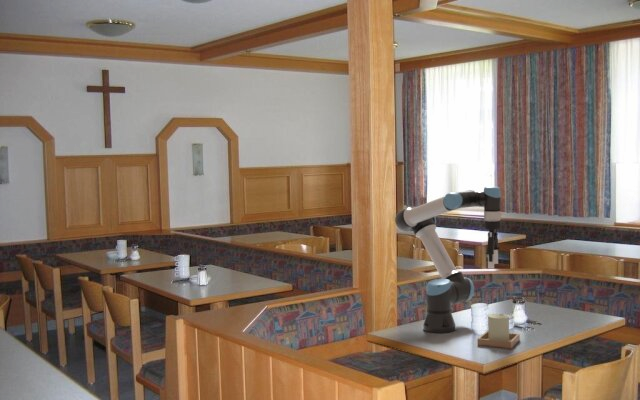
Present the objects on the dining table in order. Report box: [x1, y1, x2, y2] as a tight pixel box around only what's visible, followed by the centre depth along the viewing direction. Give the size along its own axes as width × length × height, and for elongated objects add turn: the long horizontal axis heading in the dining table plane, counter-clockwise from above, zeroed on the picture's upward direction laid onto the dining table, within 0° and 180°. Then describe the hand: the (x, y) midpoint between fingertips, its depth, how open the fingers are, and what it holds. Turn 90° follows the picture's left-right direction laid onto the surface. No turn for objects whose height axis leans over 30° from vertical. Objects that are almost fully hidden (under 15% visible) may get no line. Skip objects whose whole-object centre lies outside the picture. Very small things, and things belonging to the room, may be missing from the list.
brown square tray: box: [476, 330, 521, 350], centre depth 306 cm, size 15×15×3 cm
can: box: [487, 313, 510, 342], centre depth 306 cm, size 9×9×12 cm
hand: (493, 266), depth 322 cm, fingers open, 13 cm apart
